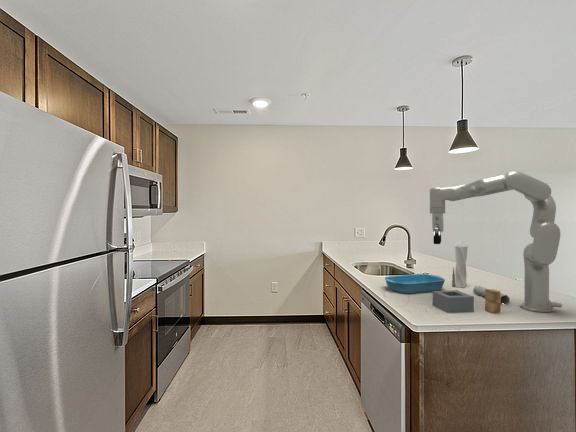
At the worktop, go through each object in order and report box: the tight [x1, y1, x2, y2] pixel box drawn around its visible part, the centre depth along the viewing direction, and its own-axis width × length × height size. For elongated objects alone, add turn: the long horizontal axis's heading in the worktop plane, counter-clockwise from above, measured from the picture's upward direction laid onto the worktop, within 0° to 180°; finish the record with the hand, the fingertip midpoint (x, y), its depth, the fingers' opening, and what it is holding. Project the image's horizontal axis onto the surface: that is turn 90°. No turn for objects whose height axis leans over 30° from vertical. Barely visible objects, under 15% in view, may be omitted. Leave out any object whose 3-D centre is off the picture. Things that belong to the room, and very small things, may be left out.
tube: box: [473, 285, 511, 305], centre depth 181 cm, size 5×5×25 cm
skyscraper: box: [451, 241, 468, 289], centre depth 210 cm, size 8×8×28 cm
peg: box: [484, 288, 502, 314], centre depth 157 cm, size 4×4×10 cm
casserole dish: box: [384, 273, 446, 294], centre depth 204 cm, size 37×22×7 cm, turn 108°
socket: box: [432, 289, 475, 314], centre depth 163 cm, size 13×13×7 cm
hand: (437, 243), depth 177 cm, fingers open, 9 cm apart
